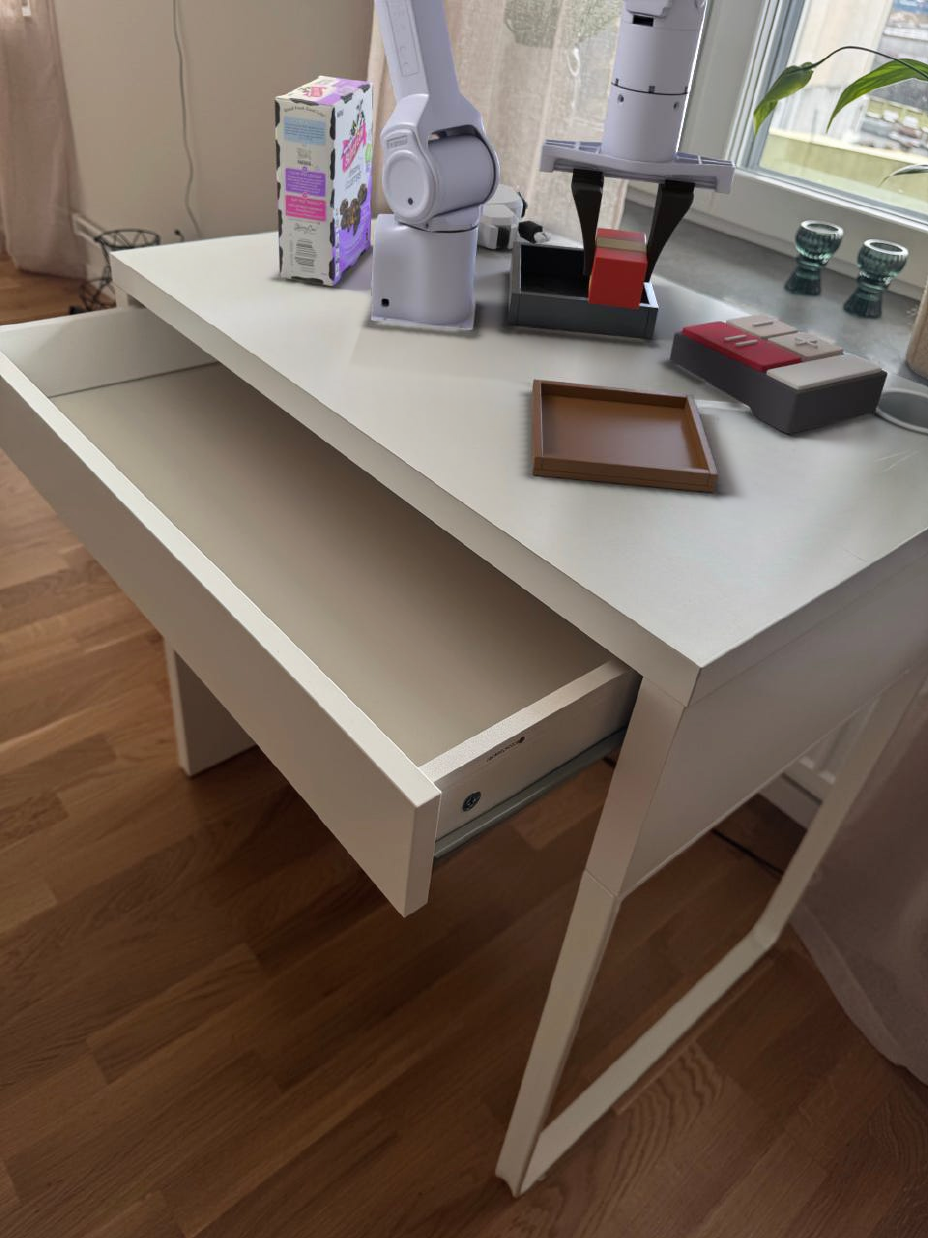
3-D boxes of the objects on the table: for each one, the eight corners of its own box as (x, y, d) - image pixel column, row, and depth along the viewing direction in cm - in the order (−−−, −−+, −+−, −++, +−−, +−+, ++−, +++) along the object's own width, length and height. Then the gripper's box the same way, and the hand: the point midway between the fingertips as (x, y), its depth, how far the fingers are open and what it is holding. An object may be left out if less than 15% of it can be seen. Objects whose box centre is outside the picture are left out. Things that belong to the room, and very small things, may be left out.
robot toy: (553, 265, 109) (513, 215, 120) (560, 225, 106) (518, 177, 117) (448, 266, 106) (417, 214, 116) (452, 225, 103) (419, 175, 113)
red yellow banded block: (587, 303, 76) (595, 256, 74) (590, 270, 82) (597, 226, 80) (638, 309, 76) (647, 262, 74) (637, 276, 82) (645, 232, 80)
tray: (532, 474, 70) (534, 456, 69) (531, 395, 80) (533, 378, 79) (713, 492, 70) (718, 474, 69) (689, 411, 80) (693, 394, 79)
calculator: (762, 308, 90) (893, 363, 80) (751, 353, 93) (877, 412, 83) (673, 323, 85) (801, 384, 75) (665, 370, 88) (787, 435, 78)
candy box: (334, 288, 96) (334, 103, 85) (277, 279, 96) (270, 95, 86) (372, 247, 106) (376, 79, 96) (321, 239, 107) (319, 71, 97)
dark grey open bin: (507, 330, 91) (511, 292, 88) (509, 275, 103) (513, 240, 101) (650, 345, 91) (658, 307, 89) (636, 288, 103) (642, 254, 101)
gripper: (744, 88, 73) (702, 270, 81) (553, 67, 73) (531, 249, 82) (754, 106, 67) (708, 298, 75) (548, 82, 68) (525, 275, 76)
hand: (616, 275), depth 78 cm, fingers closed on red yellow banded block, 4 cm apart
